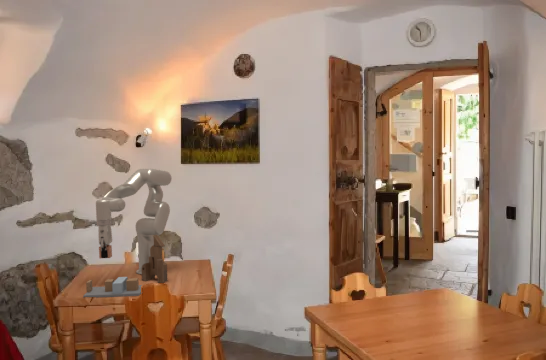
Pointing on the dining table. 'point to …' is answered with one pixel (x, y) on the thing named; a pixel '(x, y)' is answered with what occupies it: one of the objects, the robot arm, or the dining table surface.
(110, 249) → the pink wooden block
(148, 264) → the wooden toy
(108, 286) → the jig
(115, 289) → the blue-gray rectangular block
